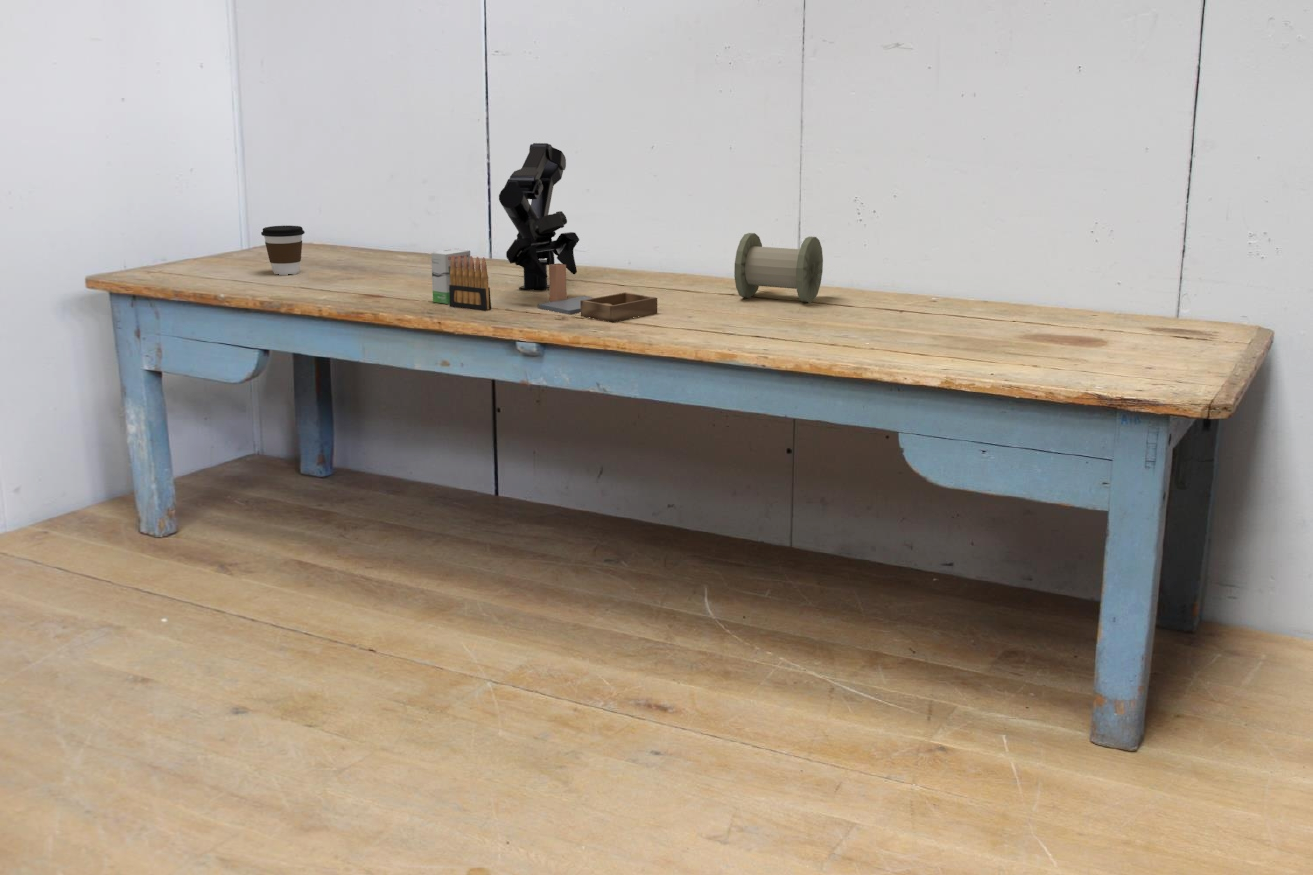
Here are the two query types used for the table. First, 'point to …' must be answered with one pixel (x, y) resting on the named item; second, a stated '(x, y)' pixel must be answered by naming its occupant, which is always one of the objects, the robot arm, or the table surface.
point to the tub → (618, 307)
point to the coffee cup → (284, 248)
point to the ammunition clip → (469, 285)
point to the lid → (560, 293)
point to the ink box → (444, 272)
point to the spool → (778, 267)
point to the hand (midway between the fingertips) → (561, 275)
